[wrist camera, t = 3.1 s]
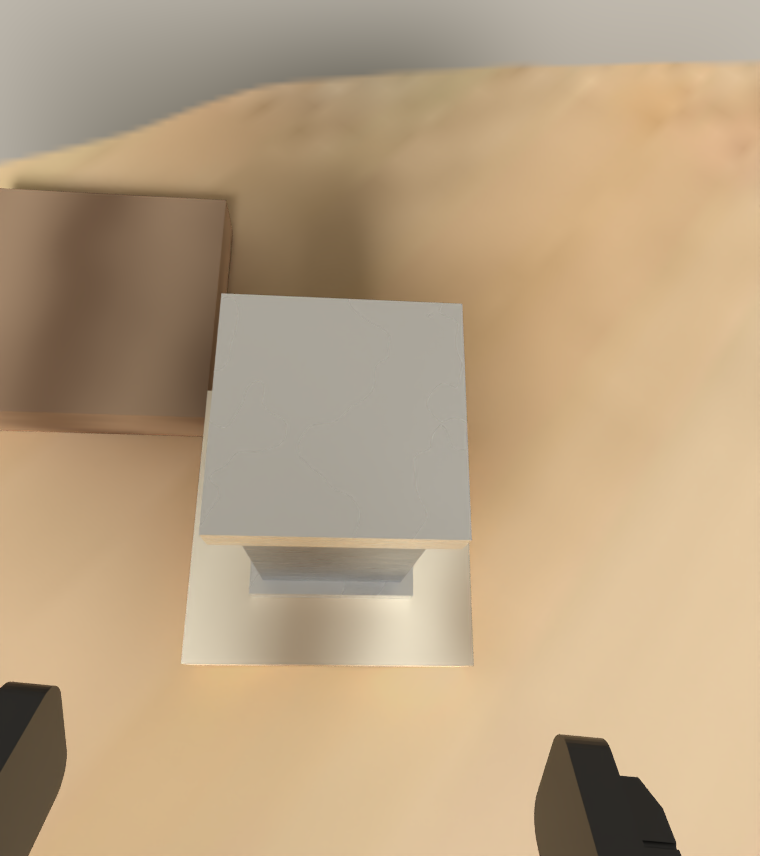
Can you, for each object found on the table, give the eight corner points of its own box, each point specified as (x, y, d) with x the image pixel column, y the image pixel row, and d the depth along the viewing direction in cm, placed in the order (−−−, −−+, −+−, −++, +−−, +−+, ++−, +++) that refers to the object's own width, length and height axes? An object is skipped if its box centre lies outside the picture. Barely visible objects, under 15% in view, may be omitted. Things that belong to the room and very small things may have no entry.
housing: (408, 450, 24) (462, 303, 15) (409, 599, 22) (471, 539, 13) (262, 446, 24) (221, 293, 14) (251, 596, 22) (198, 534, 13)
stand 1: (232, 231, 29) (226, 199, 27) (213, 436, 26) (205, 417, 24) (7, 220, 28) (-15, 187, 26) (-40, 429, 25) (-69, 408, 23)
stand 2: (453, 418, 27) (463, 399, 25) (461, 667, 24) (473, 665, 22) (215, 411, 26) (207, 390, 24) (192, 665, 23) (181, 663, 21)
